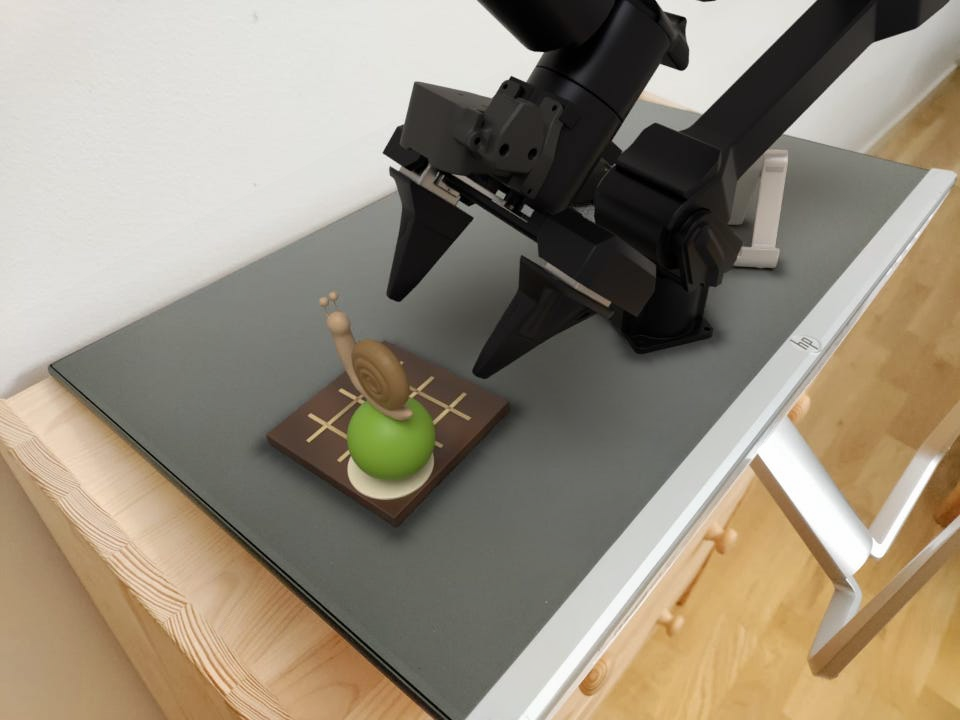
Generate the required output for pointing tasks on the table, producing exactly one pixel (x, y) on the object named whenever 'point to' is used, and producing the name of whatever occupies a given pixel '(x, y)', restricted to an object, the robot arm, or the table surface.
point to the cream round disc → (387, 482)
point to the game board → (325, 417)
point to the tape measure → (592, 182)
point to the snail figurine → (381, 407)
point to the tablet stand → (761, 208)
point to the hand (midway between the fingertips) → (432, 335)
